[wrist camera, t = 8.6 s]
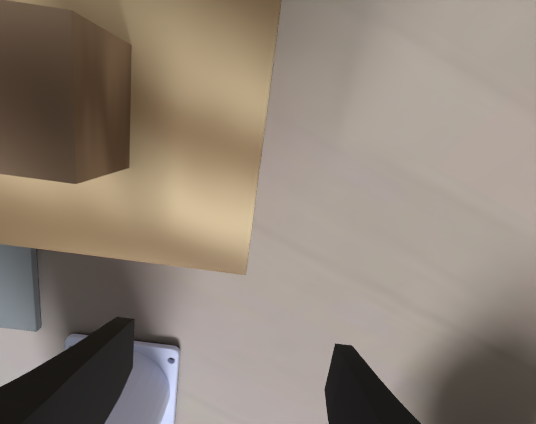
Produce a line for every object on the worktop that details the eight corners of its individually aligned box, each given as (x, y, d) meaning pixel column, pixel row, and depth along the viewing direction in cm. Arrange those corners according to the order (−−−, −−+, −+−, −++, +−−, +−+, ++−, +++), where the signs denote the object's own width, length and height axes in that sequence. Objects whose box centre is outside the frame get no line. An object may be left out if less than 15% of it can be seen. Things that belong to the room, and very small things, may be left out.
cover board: (246, 267, 16) (237, 325, 12) (-32, 232, 16) (-157, 277, 11) (288, -53, 12) (299, -159, 8) (-75, -111, 12) (-291, -260, 7)
